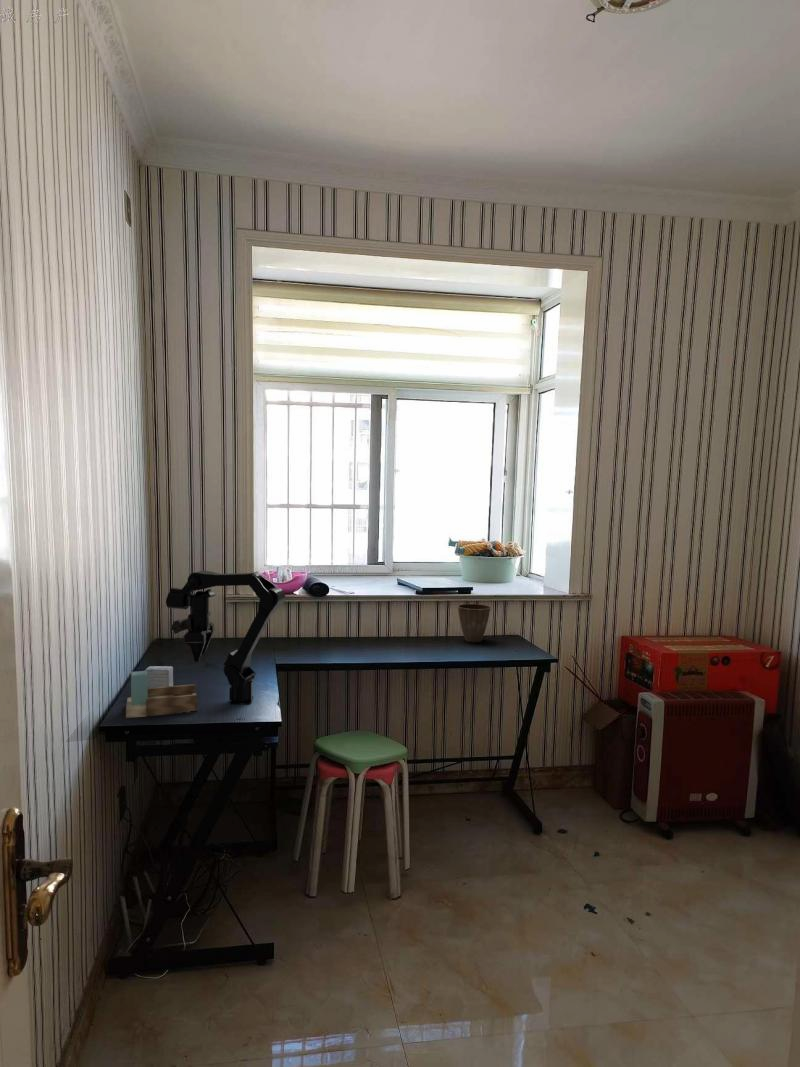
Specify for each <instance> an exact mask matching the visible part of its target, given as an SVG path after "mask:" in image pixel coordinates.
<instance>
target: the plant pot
mask: <svg viewBox="0 0 800 1067" xmlns="http://www.w3.org/2000/svg"><path fill="white" fill-rule="evenodd" d="M457 610H458V616H459V617H458V618H459V622H460V623H459V624H460V627H461V631H462V634H463V637H464V640H465V642H468V643H481V642H482V640H483V638H484V636H485V632H486V629H487V626H488V623H489V617H490V614H491V613H490V612H491V606H489V605H486V604H476V603H464V604H463V603H462V604H459V605H457Z"/></svg>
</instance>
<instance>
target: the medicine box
mask: <svg viewBox="0 0 800 1067" xmlns="http://www.w3.org/2000/svg"><path fill="white" fill-rule="evenodd" d="M144 671H147V688H155V687H167V686H174V667H173V666H170V665H169V666H165V665H163V666H162V665H161V666H159V665H158V666H155V665H154V666H153V665H152V666H151V665H150V666H148V667H147V668H145V670H144Z"/></svg>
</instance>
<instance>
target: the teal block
mask: <svg viewBox="0 0 800 1067" xmlns="http://www.w3.org/2000/svg"><path fill="white" fill-rule="evenodd" d="M130 697H131V705H142V704H146V699H147V671H145V670H139V671H131V672H130Z"/></svg>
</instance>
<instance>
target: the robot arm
mask: <svg viewBox="0 0 800 1067" xmlns="http://www.w3.org/2000/svg"><path fill="white" fill-rule="evenodd" d="M226 586H227V587H228V586H230V587H232V586H233V587H235V586H237V587H238V586H249V587H250V588H251V589H252V591H253V593H254V594H255V596H256V597H257V598H258V599H259V600H258V601H259V602H258V605H257V613H256V615H255V617H254V618H253V620H252V623H251V625H250V626H249V628H248V630H247V632H246V634H245V636H244V638H243V639H242V642H241V643H240V645H239V648H238V649H235V650H233V651H231V652H230V653H228V655H227V658H226V660H225V662H224V663H222V665H223V668H222V670H223V674H224V676H226V679H227V681H228V684H229V686H230V687H229V694H228V695H229V701H230V702H229V704H230V705H245V704H246V705H249V704H250V705H251V704H252V703H253V700H254V695H253V682H254V681H253V680H254V679H255V678H256V674H257V673H256V672H255V671H254V669H253V668H252V667H251V666H250V665H251V663H252V662H251V661H252V653H253V651H254V649H255V648H256V646H257V644H258V642H259V640H260V638H261V637H262V634H263V632H264V630H265V629H266V627H267V625H268V623H269V622H270V621H269V620H270V619H271V617H272V616H273V615H274V614H275V613H276V612H277V611H278V609H279V608H280V607H281V606H282V604H283V603H284V602H285V600H286V594H285V591H284V589H282V588H280V587H279V586H278V587H277V586H276V585H275V583H273V582H272V581H270V580H268V579H267V578H266V577H264V576H263V575H262V574H261V573H260V572H258V571H254V572H241V573H240V572H239V573H238V572H237V573H235V572H233V573H231V572H230V573H218V572H215V571H209V570H199V571H196V572H192V573H190V574H189V575H188V577H187V582H186V583H185V585H184V586H183V587H182V588H178V587H170V588H169V592H168V593H167V596H166V599H165V605H166V607H167V609H169V610H170V609H171V610H173V609H174V610H188V608H189V607H190V610H189V611H190V613H189V614H188V615H187V618H183V619H177V620H174V621H172V623H171V625H170V626H171V631H173V633H174V635H176V634H179V633H180V632H183V631H187V632H186V633H185V634H184V635H183V643H184V644H186V645H188V646H189V647H190V650H191V653H192V657H193V660H194V662H195V663H198V662H199V661H200V658H201V656H204V655H205V653H206V651H207V649H208V646H209V644H210V641H211V639H212V636H214V631H215V627H216V626H215V624H214V622H212V621H210V616H211V611H210V598H214V597H215V596H216V593H215V592H214V591H212V589H211V588H214V587H226ZM205 589H206V590H205ZM194 592H195V593H194Z"/></svg>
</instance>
